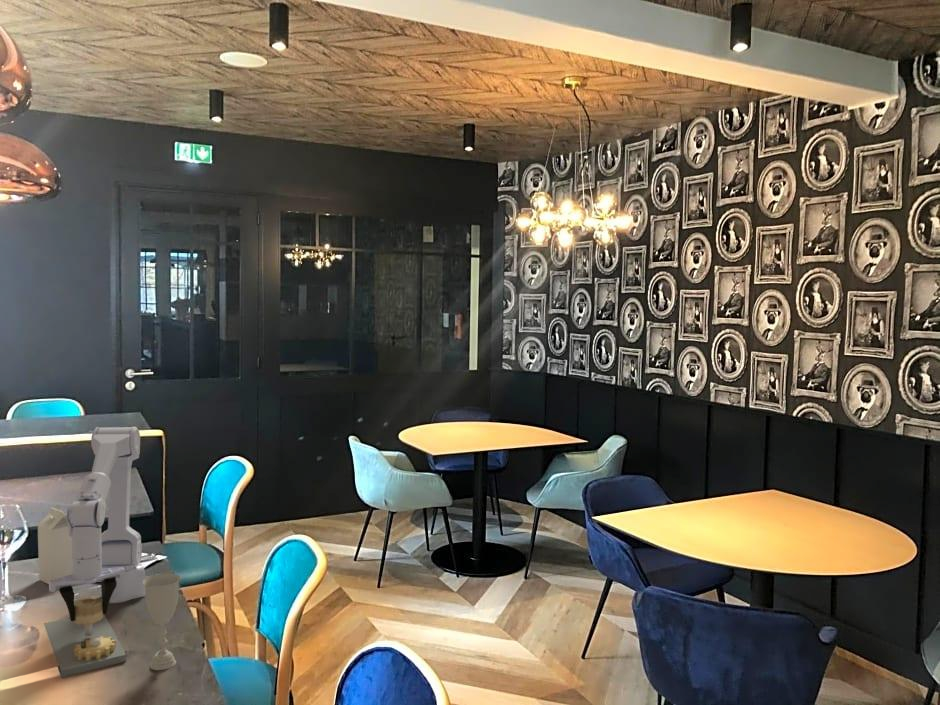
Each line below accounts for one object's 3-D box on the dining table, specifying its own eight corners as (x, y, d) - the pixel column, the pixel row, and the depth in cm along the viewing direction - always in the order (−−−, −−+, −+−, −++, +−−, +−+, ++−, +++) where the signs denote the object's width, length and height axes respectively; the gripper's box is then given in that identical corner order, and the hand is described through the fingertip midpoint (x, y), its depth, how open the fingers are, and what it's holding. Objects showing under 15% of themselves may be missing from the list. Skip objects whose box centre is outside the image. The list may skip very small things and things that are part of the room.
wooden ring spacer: (100, 611, 166) (99, 594, 165) (105, 620, 161) (104, 602, 161) (72, 617, 162) (71, 599, 162) (76, 626, 158) (75, 608, 158)
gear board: (102, 616, 176) (101, 591, 176) (126, 661, 155) (125, 633, 155) (44, 629, 169) (43, 603, 169) (61, 677, 148) (60, 648, 148)
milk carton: (66, 572, 203) (64, 504, 202) (79, 578, 199) (77, 509, 198) (38, 580, 198) (36, 510, 196) (51, 586, 194) (49, 515, 192)
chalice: (145, 675, 150) (143, 588, 148) (142, 660, 156) (141, 577, 154) (183, 667, 153) (182, 582, 152) (180, 653, 159) (178, 571, 158)
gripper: (51, 567, 153) (53, 631, 154) (127, 553, 162) (128, 614, 163) (46, 557, 159) (48, 618, 160) (120, 545, 168) (121, 603, 169)
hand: (88, 615), depth 162 cm, fingers closed on wooden ring spacer, 6 cm apart
